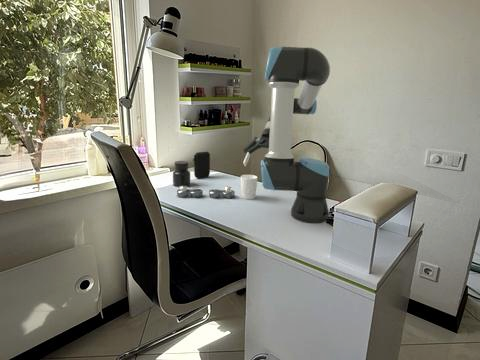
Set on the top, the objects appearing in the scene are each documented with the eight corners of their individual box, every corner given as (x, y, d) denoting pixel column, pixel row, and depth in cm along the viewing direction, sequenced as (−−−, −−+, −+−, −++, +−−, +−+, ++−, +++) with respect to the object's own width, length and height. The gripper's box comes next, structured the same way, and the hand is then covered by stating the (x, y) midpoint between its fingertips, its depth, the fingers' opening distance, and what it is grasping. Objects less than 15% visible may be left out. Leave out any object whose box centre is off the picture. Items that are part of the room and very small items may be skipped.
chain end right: (234, 198, 148) (234, 189, 147) (208, 198, 148) (208, 189, 147) (234, 194, 154) (234, 185, 153) (209, 194, 154) (209, 185, 152)
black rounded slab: (194, 179, 177) (194, 153, 173) (191, 178, 179) (191, 152, 175) (210, 177, 183) (211, 151, 179) (208, 175, 186) (208, 150, 181)
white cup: (238, 199, 148) (239, 178, 145) (241, 193, 156) (242, 174, 153) (255, 200, 147) (256, 179, 144) (257, 195, 154) (258, 175, 152)
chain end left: (202, 198, 148) (202, 188, 146) (176, 197, 147) (175, 188, 146) (203, 194, 153) (203, 185, 152) (178, 193, 153) (177, 184, 152)
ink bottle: (186, 181, 174) (185, 159, 170) (194, 185, 167) (193, 162, 164) (169, 183, 168) (168, 161, 165) (176, 188, 161) (176, 165, 158)
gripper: (295, 139, 161) (282, 174, 153) (251, 134, 172) (236, 167, 164) (292, 129, 155) (278, 165, 147) (247, 125, 166) (231, 158, 158)
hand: (256, 166), depth 155 cm, fingers open, 13 cm apart
